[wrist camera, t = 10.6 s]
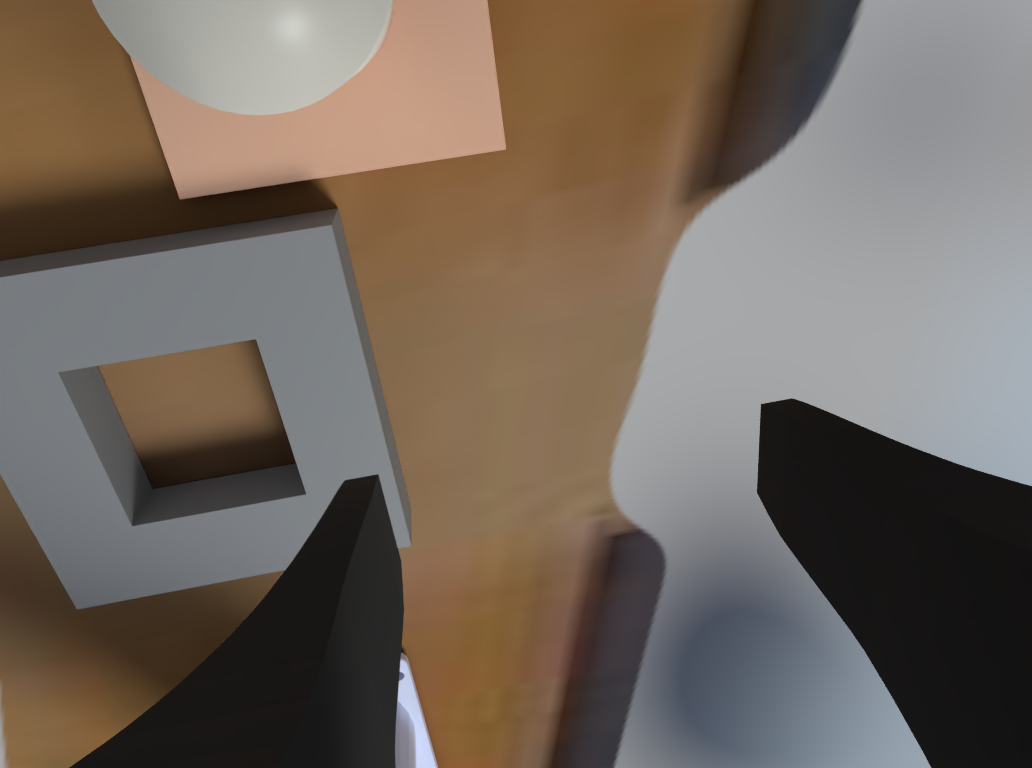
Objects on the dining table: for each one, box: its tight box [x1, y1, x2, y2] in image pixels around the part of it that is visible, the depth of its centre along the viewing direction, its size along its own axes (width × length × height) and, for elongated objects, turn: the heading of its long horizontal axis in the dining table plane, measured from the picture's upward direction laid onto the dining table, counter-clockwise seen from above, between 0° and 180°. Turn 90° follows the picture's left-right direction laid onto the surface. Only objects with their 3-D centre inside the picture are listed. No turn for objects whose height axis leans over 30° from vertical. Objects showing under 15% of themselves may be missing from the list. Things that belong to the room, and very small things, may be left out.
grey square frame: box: [0, 208, 412, 610], centre depth 22 cm, size 11×11×2 cm
